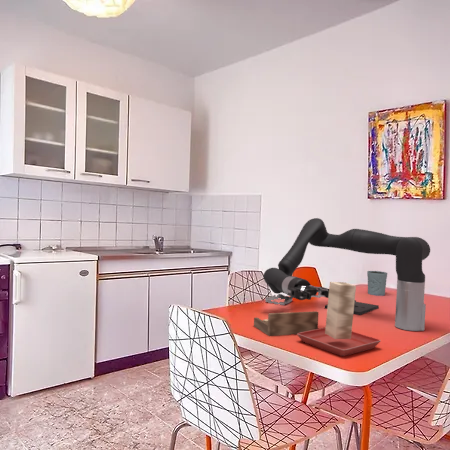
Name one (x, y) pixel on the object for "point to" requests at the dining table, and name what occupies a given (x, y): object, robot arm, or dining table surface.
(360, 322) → the dining table surface
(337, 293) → the birch block
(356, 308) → the picture frame
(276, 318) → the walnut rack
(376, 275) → the grey-blue cup
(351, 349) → the plant saucer
